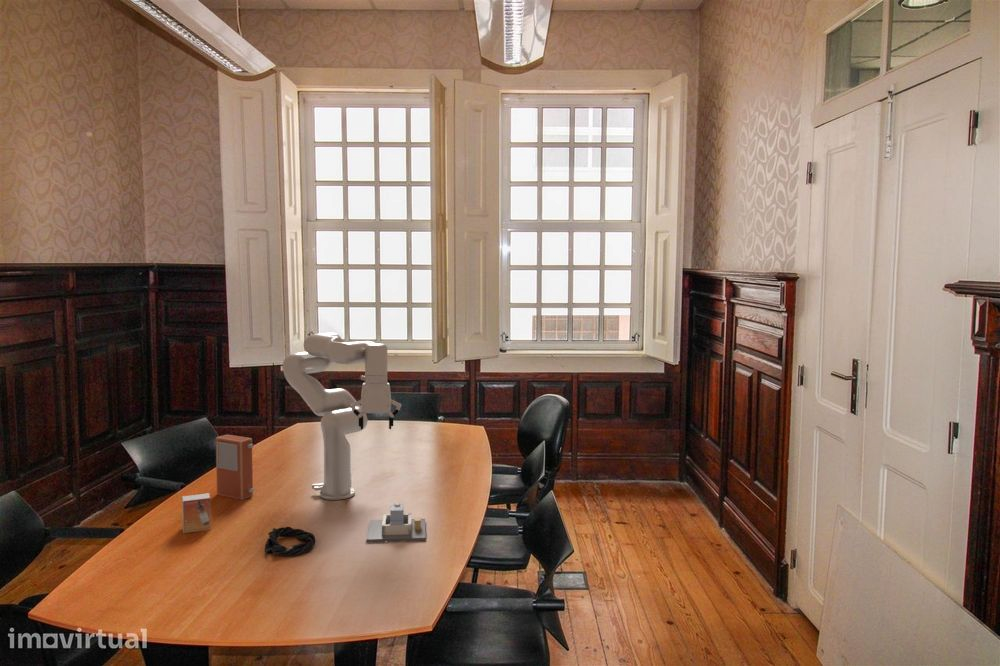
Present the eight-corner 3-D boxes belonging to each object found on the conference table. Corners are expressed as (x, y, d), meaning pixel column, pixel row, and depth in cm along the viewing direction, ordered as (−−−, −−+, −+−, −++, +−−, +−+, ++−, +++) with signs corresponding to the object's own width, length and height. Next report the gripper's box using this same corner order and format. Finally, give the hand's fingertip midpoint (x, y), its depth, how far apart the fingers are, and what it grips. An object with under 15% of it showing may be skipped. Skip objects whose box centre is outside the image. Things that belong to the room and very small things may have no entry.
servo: (390, 534, 204) (390, 511, 203) (391, 522, 214) (391, 500, 213) (403, 534, 205) (403, 511, 204) (403, 522, 214) (403, 500, 214)
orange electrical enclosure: (227, 489, 247) (257, 495, 240) (212, 494, 240) (242, 501, 234) (226, 433, 245) (256, 438, 239) (210, 437, 239) (241, 442, 232)
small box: (183, 534, 204) (182, 501, 203) (182, 528, 209) (181, 495, 208) (211, 530, 208) (210, 497, 207) (209, 524, 213) (209, 492, 212)
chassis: (366, 542, 200) (366, 529, 200) (370, 523, 216) (370, 511, 216) (425, 540, 202) (425, 528, 202) (425, 521, 218) (425, 509, 218)
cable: (273, 535, 205) (272, 522, 205) (319, 534, 207) (319, 520, 207) (261, 559, 188) (261, 544, 188) (311, 557, 190) (311, 542, 190)
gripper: (349, 381, 221) (349, 431, 223) (401, 381, 223) (401, 430, 225) (351, 377, 229) (351, 426, 230) (401, 377, 231) (401, 425, 232)
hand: (376, 428), depth 228 cm, fingers open, 9 cm apart
